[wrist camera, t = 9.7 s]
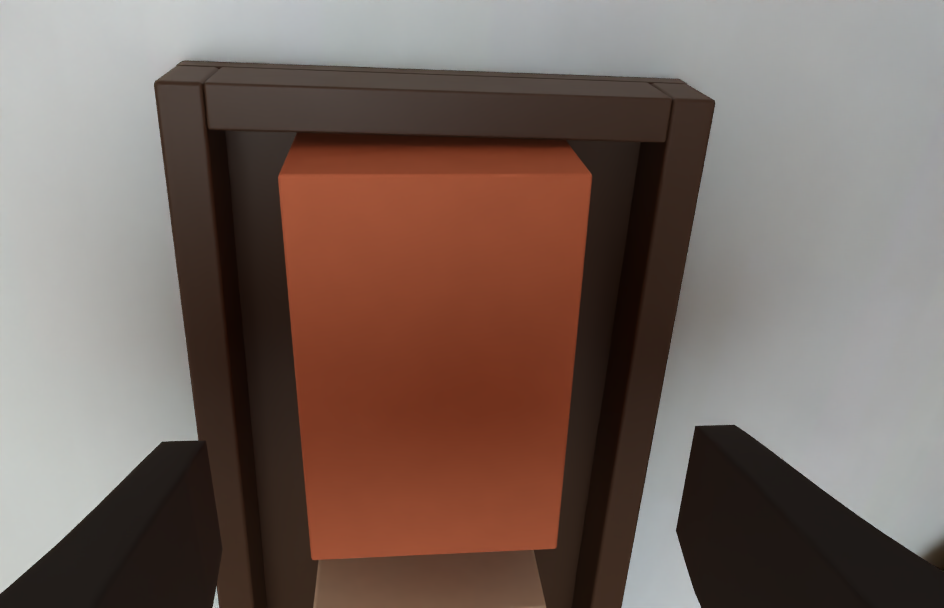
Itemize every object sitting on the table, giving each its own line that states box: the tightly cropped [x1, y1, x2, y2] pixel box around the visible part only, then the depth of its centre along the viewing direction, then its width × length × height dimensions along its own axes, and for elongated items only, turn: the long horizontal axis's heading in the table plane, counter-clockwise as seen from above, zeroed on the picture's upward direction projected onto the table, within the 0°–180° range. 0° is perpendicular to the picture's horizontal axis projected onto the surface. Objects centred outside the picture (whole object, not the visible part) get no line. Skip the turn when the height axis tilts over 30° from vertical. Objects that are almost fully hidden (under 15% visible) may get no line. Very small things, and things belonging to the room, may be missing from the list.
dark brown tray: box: [154, 61, 715, 608], centre depth 19 cm, size 10×20×2 cm, turn 177°
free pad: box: [278, 133, 592, 560], centre depth 16 cm, size 5×8×3 cm, turn 179°
